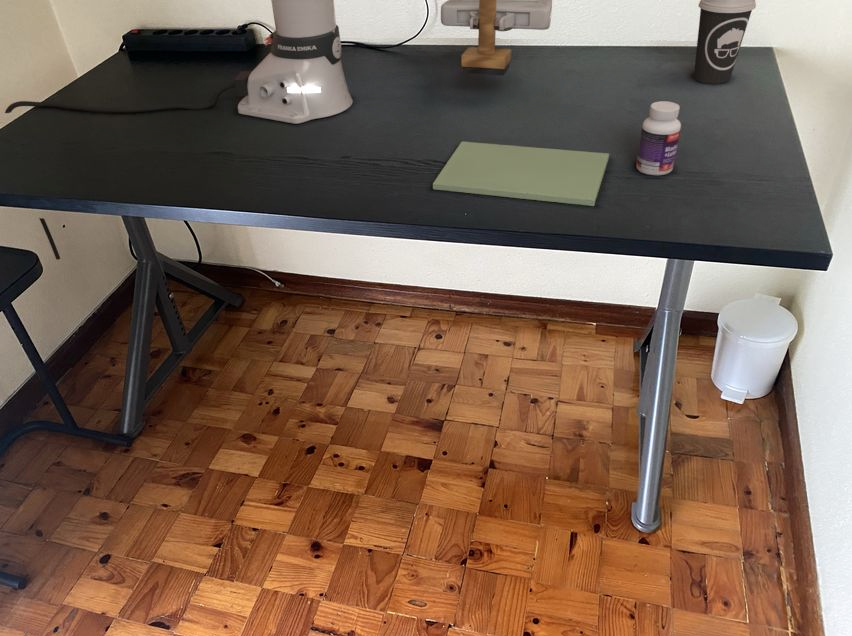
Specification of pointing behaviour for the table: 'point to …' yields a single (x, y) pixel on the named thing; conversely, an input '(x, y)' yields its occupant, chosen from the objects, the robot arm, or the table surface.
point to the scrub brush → (486, 46)
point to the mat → (524, 173)
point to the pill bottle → (659, 139)
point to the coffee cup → (720, 38)
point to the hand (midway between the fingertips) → (486, 25)
